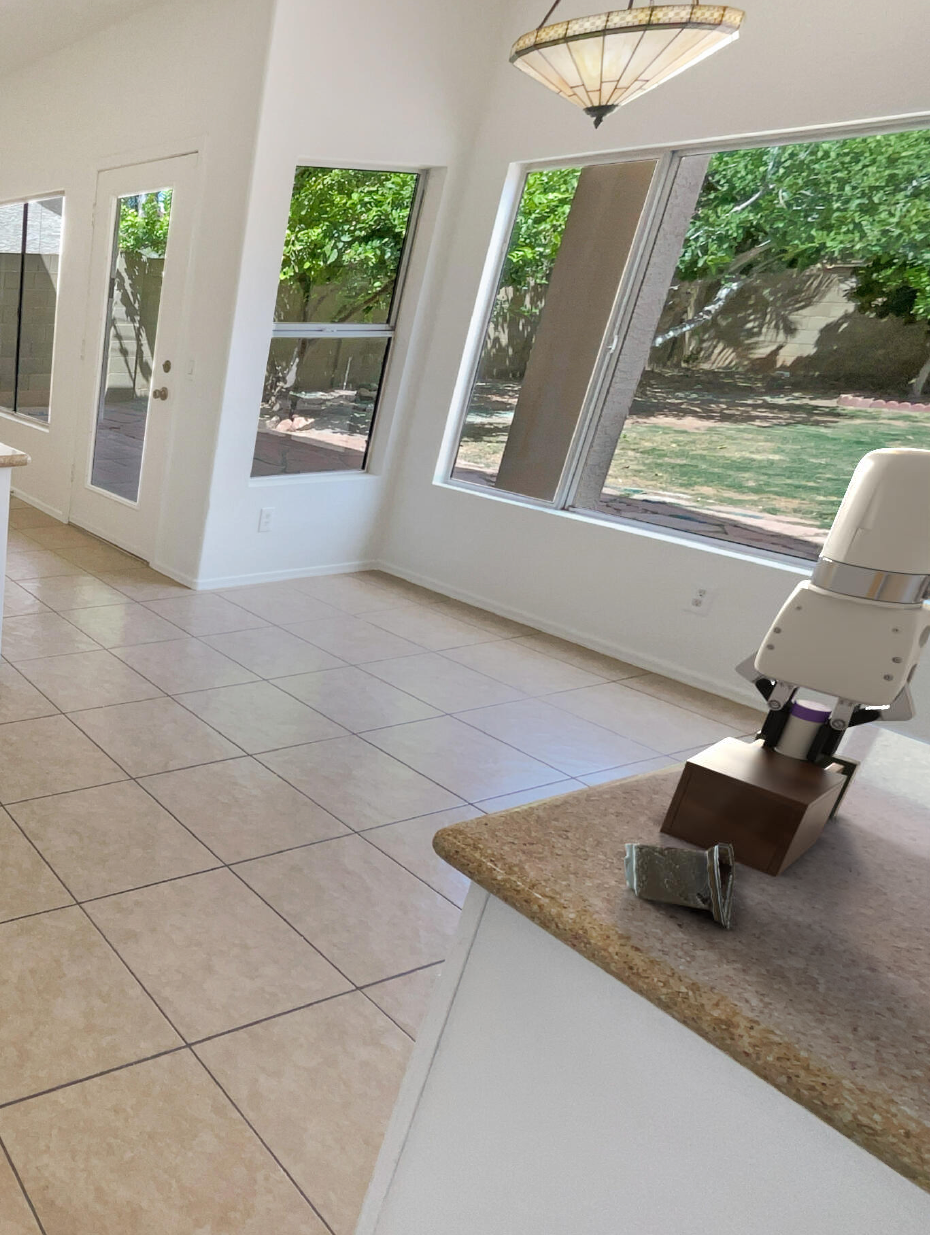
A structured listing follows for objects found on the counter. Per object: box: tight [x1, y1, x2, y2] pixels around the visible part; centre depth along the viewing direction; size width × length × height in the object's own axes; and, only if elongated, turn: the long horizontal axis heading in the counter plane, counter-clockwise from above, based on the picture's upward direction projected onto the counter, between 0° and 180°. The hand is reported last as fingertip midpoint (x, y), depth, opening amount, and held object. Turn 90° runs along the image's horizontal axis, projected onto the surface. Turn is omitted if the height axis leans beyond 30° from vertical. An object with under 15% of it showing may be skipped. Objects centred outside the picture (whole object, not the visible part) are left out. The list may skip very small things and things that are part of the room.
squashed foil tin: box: [623, 843, 736, 930], centre depth 77 cm, size 10×7×12 cm
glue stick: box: [775, 699, 833, 760], centre depth 85 cm, size 3×3×6 cm
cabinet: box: [659, 736, 847, 878], centre depth 84 cm, size 10×9×8 cm
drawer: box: [751, 730, 862, 820], centre depth 89 cm, size 14×8×7 cm, turn 120°
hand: (793, 749), depth 86 cm, fingers closed on glue stick, 2 cm apart
